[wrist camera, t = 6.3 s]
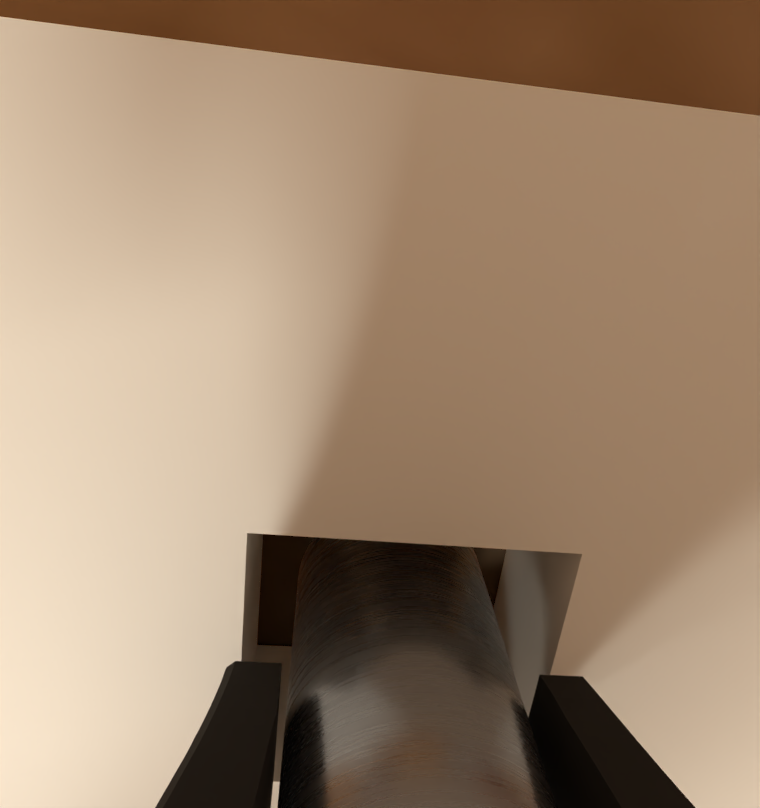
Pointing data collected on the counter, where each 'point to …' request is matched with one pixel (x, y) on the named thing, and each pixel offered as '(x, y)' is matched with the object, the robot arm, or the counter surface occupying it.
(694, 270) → the hole block
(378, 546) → the tall pin
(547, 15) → the counter surface
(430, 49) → the counter surface
